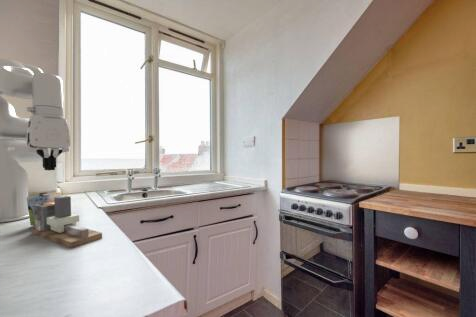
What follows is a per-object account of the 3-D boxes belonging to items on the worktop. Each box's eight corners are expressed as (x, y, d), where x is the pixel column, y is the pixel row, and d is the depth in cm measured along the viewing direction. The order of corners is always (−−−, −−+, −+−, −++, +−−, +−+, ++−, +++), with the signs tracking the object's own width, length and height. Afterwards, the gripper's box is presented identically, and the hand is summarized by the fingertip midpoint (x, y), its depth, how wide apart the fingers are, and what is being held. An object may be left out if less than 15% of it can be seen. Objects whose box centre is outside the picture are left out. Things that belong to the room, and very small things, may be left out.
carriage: (46, 230, 67) (46, 197, 67) (69, 224, 72) (68, 194, 72) (56, 233, 64) (55, 199, 64) (79, 227, 69) (78, 196, 69)
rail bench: (31, 233, 70) (30, 205, 70) (61, 225, 77) (60, 200, 77) (71, 248, 58) (70, 214, 58) (102, 237, 65) (101, 207, 65)
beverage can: (42, 228, 75) (41, 193, 75) (21, 228, 75) (20, 193, 75) (58, 222, 81) (57, 190, 81) (38, 222, 81) (37, 190, 81)
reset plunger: (40, 211, 71) (40, 203, 71) (55, 208, 74) (55, 201, 74) (46, 213, 69) (46, 205, 69) (61, 210, 73) (61, 202, 72)
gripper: (22, 108, 63) (23, 172, 63) (80, 115, 76) (81, 169, 76) (12, 110, 66) (13, 171, 67) (69, 117, 79) (70, 168, 80)
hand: (49, 169), depth 72 cm, fingers closed
